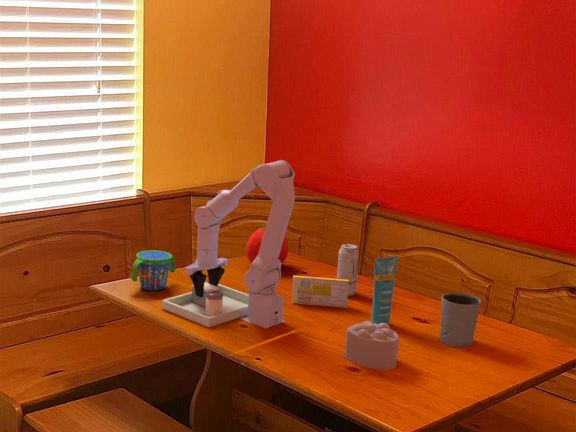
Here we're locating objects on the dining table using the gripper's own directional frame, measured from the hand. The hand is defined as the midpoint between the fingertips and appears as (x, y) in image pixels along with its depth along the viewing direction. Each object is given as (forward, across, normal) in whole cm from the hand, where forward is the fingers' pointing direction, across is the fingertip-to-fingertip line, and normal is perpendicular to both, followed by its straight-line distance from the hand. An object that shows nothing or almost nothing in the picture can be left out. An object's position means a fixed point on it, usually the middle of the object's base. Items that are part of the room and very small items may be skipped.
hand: (205, 294), depth 235 cm
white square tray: (+3, +1, +4) cm, 6 cm away
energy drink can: (+4, -40, +20) cm, 45 cm away
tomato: (+4, -40, -14) cm, 42 cm away
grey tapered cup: (+4, -32, +62) cm, 70 cm away
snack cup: (+4, +1, -22) cm, 22 cm away
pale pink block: (+3, 0, 0) cm, 3 cm away
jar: (+3, +6, +10) cm, 12 cm away
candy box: (+4, -26, +20) cm, 33 cm away
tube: (+4, -27, +42) cm, 50 cm away
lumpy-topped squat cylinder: (+4, -5, +54) cm, 55 cm away
